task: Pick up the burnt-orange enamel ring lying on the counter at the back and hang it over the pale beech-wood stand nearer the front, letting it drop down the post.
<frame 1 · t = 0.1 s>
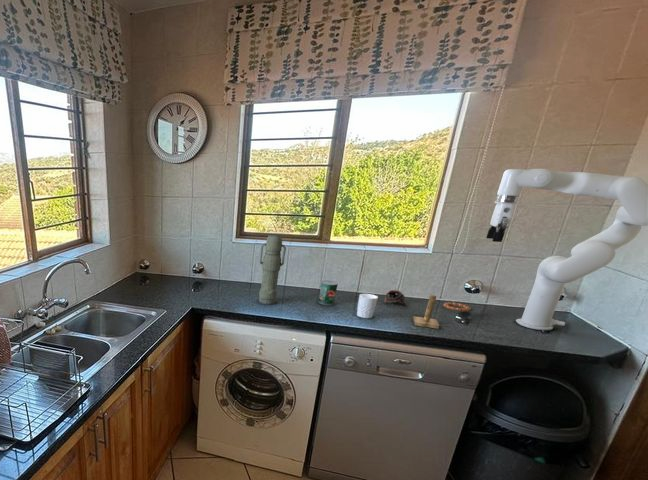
hand: (493, 240, 178), 37 cm above the worktop, tool pointing down, fingers open, 9 cm apart
stand: (425, 323, 183), on the worktop
brown domed piece: (393, 303, 211), on the worktop
white cup: (364, 316, 193), on the worktop
canned tomato: (325, 303, 212), on the worktop
grey stone vase: (267, 302, 212), on the worktop
ring: (456, 307, 203), point 1 cm above the worktop
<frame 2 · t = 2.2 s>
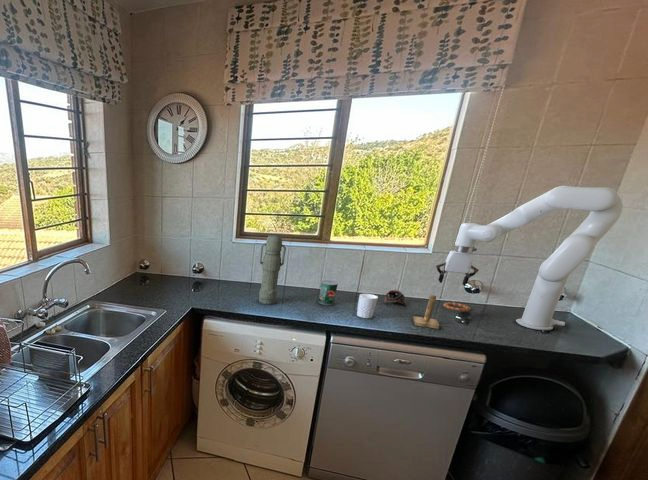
hand: (451, 283, 200), 13 cm above the worktop, tool pointing down, fingers open, 9 cm apart
nothing on the worktop moved.
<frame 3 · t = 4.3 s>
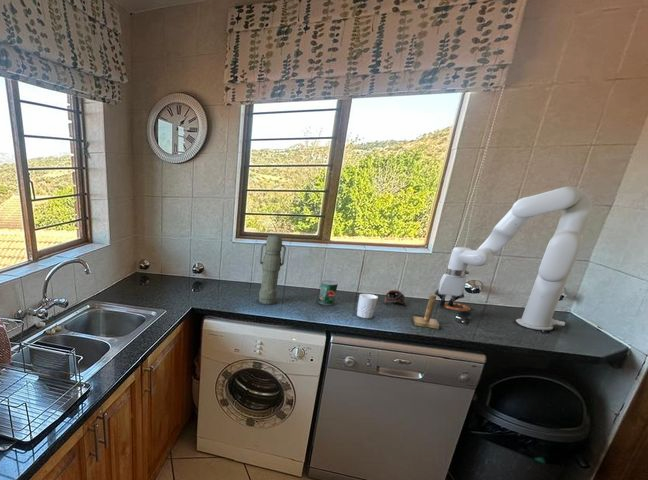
hand: (445, 307, 205), 0 cm above the worktop, tool pointing down, fingers closed on ring, 2 cm apart
ring: (456, 307, 203), point 1 cm above the worktop, touching gripper
everything else where it was.
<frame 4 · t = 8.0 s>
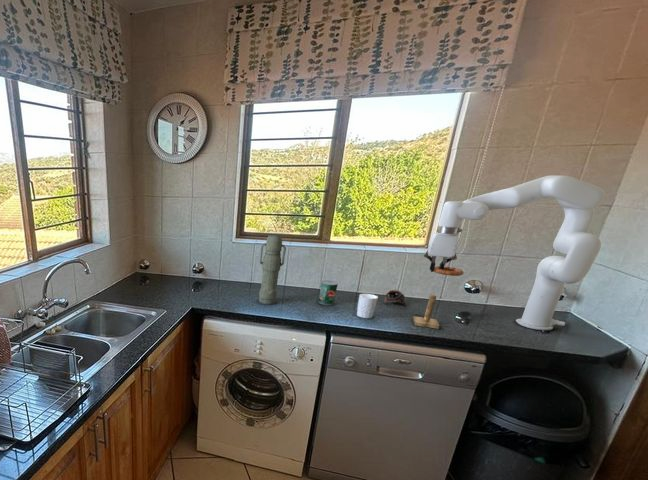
hand: (435, 271, 183), 23 cm above the worktop, tool pointing down, fingers closed on ring
ring: (447, 270, 180), point 23 cm above the worktop, touching gripper
everything else where it was.
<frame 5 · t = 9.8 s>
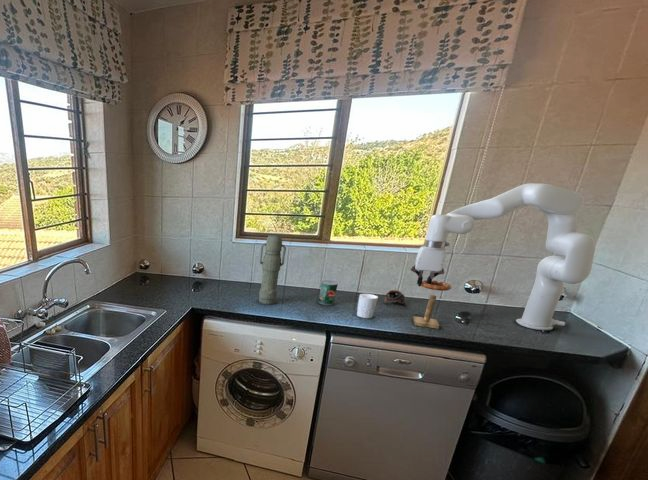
hand: (423, 285, 179), 17 cm above the worktop, tool pointing down, fingers closed on ring
ring: (435, 285, 177), point 18 cm above the worktop, touching gripper
everything else where it was.
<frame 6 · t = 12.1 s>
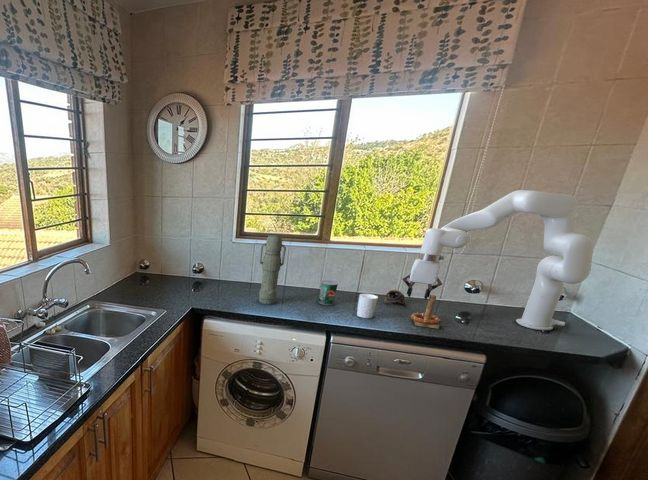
hand: (417, 296, 181), 12 cm above the worktop, tool pointing down, fingers open, 5 cm apart
ring: (425, 318, 183), point 2 cm above the worktop, touching stand
everything else where it was.
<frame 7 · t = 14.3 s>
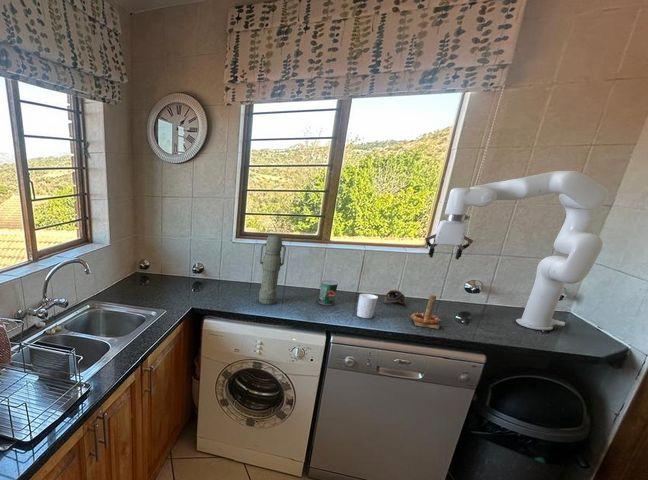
hand: (443, 258, 178), 29 cm above the worktop, tool pointing down, fingers open, 9 cm apart
nothing on the worktop moved.
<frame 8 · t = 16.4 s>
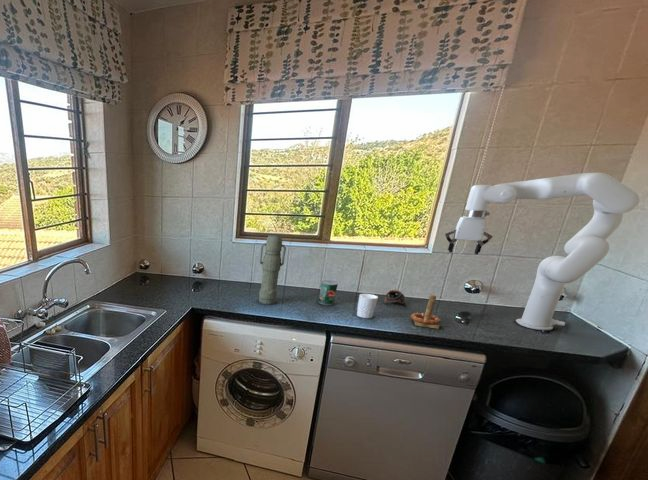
hand: (462, 253, 183), 30 cm above the worktop, tool pointing down, fingers open, 9 cm apart
nothing on the worktop moved.
at the end: ring 0.7 cm from the stand (horizontally); ring point 2.5 cm above the worktop; the gripper is holding nothing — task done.
